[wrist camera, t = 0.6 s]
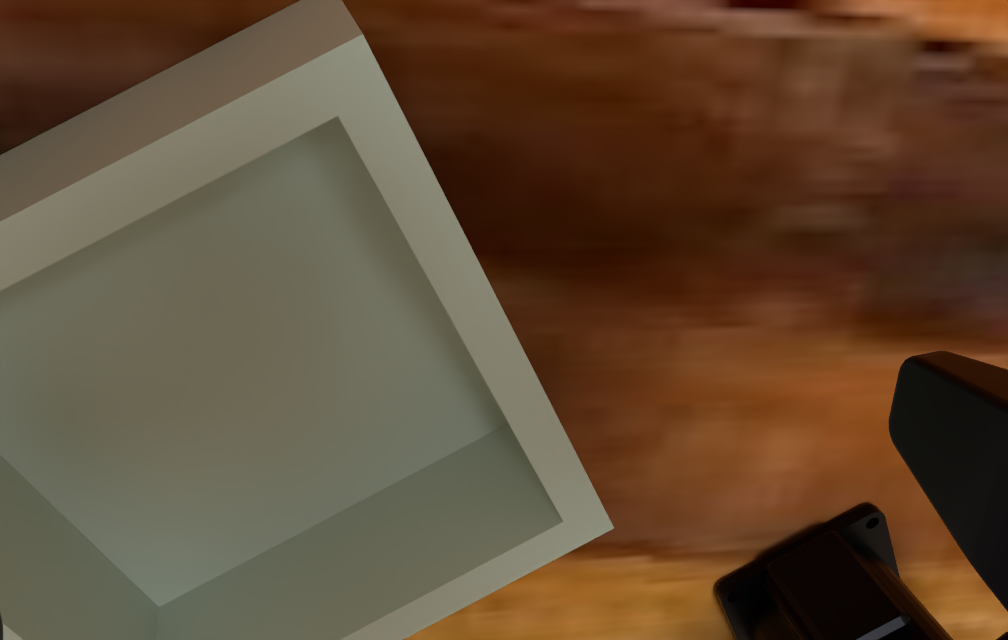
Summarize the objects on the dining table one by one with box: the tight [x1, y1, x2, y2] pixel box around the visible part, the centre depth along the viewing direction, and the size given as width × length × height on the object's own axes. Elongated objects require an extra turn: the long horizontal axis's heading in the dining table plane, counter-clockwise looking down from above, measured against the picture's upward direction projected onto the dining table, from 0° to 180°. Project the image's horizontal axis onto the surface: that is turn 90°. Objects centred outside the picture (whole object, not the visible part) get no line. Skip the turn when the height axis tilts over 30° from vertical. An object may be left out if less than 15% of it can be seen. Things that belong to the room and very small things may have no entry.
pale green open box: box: [0, 0, 614, 640], centre depth 20 cm, size 13×13×5 cm
